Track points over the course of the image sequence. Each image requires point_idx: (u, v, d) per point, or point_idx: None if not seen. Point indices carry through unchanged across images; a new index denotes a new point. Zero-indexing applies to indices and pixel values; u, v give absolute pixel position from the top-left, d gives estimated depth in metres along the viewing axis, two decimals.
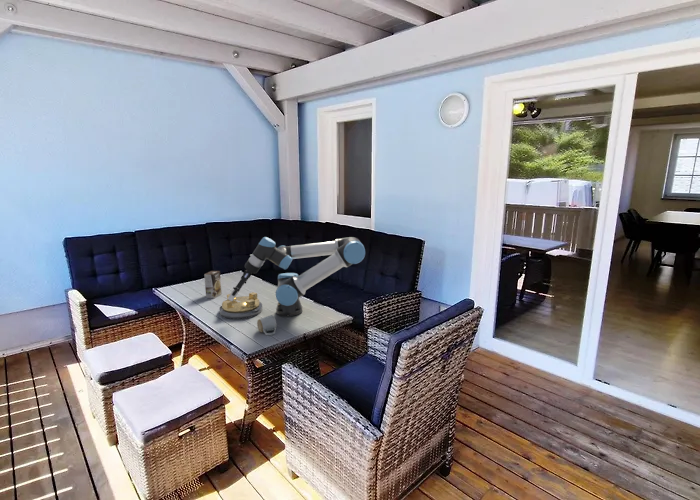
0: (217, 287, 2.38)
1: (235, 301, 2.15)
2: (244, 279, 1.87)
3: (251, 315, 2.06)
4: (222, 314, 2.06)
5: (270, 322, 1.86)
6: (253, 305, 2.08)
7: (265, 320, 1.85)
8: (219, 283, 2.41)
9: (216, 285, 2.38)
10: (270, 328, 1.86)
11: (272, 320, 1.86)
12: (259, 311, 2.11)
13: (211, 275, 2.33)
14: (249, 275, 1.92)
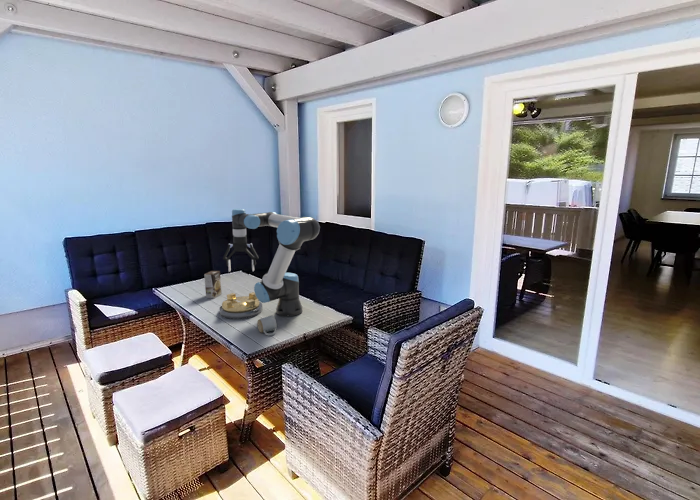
0: (217, 287, 2.38)
1: (235, 301, 2.15)
2: (227, 248, 2.13)
3: (251, 315, 2.06)
4: (222, 314, 2.06)
5: (270, 322, 1.85)
6: (253, 305, 2.08)
7: (265, 321, 1.85)
8: (219, 283, 2.41)
9: (216, 285, 2.38)
10: (270, 328, 1.86)
11: (272, 320, 1.86)
12: (259, 311, 2.11)
13: (211, 275, 2.33)
14: (236, 246, 2.12)
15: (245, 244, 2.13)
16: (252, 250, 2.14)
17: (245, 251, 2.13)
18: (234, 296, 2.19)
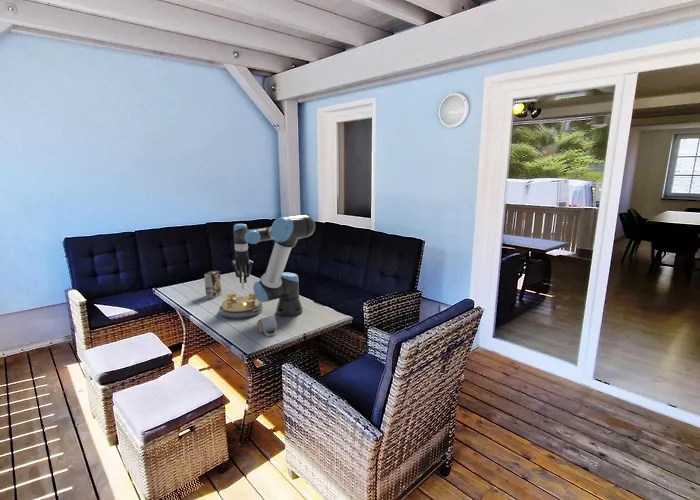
0: (217, 287, 2.38)
1: (235, 301, 2.15)
2: None
3: (251, 315, 2.06)
4: (222, 314, 2.06)
5: (271, 323, 1.85)
6: (253, 305, 2.08)
7: (266, 321, 1.85)
8: (219, 283, 2.41)
9: (216, 285, 2.38)
10: (271, 329, 1.85)
11: (273, 321, 1.86)
12: (259, 311, 2.11)
13: (211, 275, 2.33)
14: None
15: (247, 259, 2.17)
16: (249, 267, 2.18)
17: (243, 266, 2.17)
18: (234, 296, 2.19)
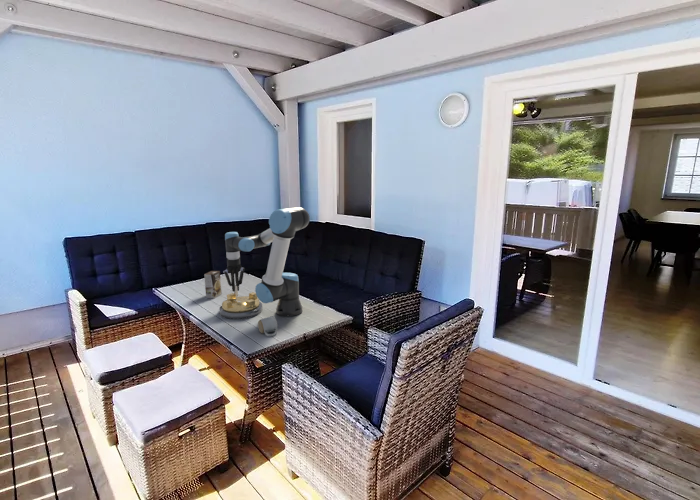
0: (217, 287, 2.38)
1: (235, 301, 2.15)
2: (226, 276, 2.15)
3: (251, 315, 2.06)
4: (222, 314, 2.06)
5: (271, 323, 1.85)
6: (253, 305, 2.08)
7: (266, 321, 1.84)
8: (219, 283, 2.41)
9: (216, 285, 2.38)
10: (271, 329, 1.85)
11: (273, 321, 1.85)
12: (259, 311, 2.11)
13: (211, 275, 2.33)
14: (231, 270, 2.15)
15: (240, 266, 2.18)
16: (242, 274, 2.19)
17: (237, 274, 2.17)
18: (234, 296, 2.19)
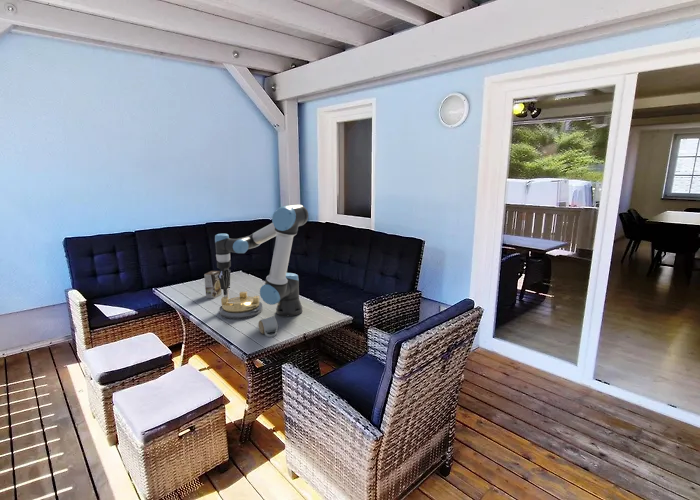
0: (217, 287, 2.38)
1: (234, 303, 2.12)
2: (221, 279, 2.07)
3: (251, 315, 2.06)
4: (222, 314, 2.06)
5: (271, 323, 1.84)
6: (259, 300, 2.16)
7: (266, 322, 1.84)
8: (219, 283, 2.41)
9: (216, 285, 2.38)
10: (271, 329, 1.84)
11: (273, 322, 1.85)
12: (259, 311, 2.11)
13: (211, 275, 2.33)
14: (225, 272, 2.09)
15: (228, 267, 2.14)
16: (229, 275, 2.16)
17: (228, 276, 2.13)
18: (227, 299, 2.14)
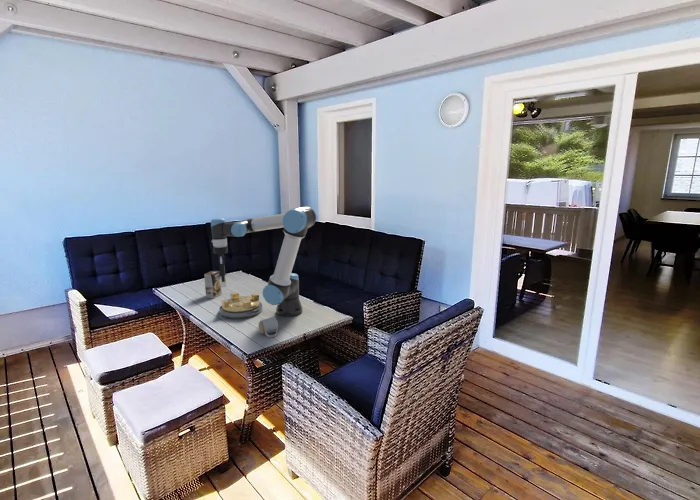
0: (217, 287, 2.38)
1: (235, 304, 2.11)
2: (222, 265, 2.01)
3: (251, 315, 2.06)
4: (222, 314, 2.06)
5: (272, 324, 1.84)
6: None
7: (267, 322, 1.83)
8: (219, 283, 2.41)
9: (216, 285, 2.38)
10: (272, 330, 1.84)
11: (274, 322, 1.84)
12: (259, 311, 2.11)
13: (211, 275, 2.33)
14: (223, 258, 2.04)
15: None
16: None
17: None
18: None
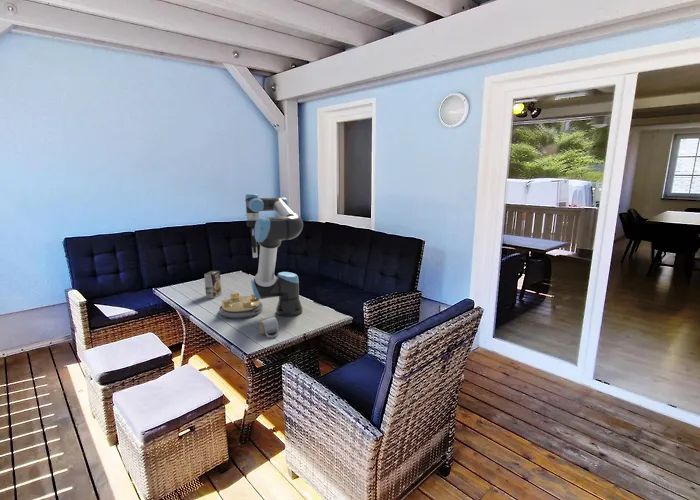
0: (217, 287, 2.38)
1: (235, 304, 2.11)
2: (253, 237, 2.19)
3: (251, 315, 2.06)
4: (222, 314, 2.06)
5: (272, 324, 1.83)
6: None
7: (267, 322, 1.83)
8: (219, 283, 2.41)
9: (216, 285, 2.38)
10: (272, 330, 1.83)
11: (274, 322, 1.84)
12: (259, 311, 2.11)
13: (211, 275, 2.33)
14: None
15: None
16: None
17: None
18: None
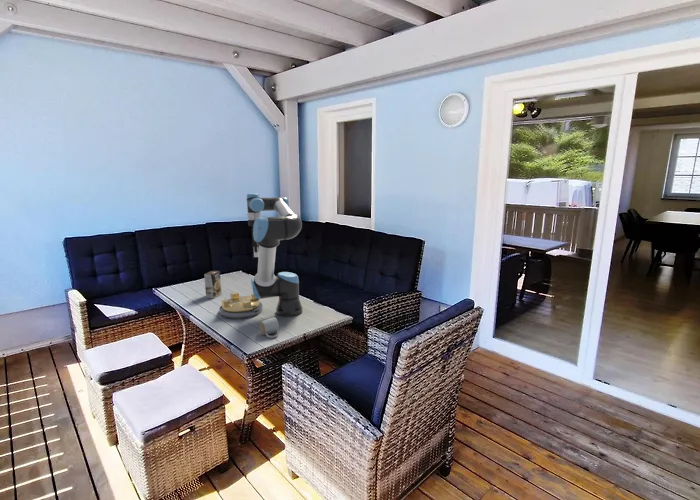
0: (217, 287, 2.38)
1: (235, 304, 2.11)
2: None
3: (251, 315, 2.06)
4: (222, 314, 2.06)
5: (272, 324, 1.83)
6: None
7: (268, 323, 1.82)
8: (219, 283, 2.41)
9: (216, 285, 2.38)
10: (272, 330, 1.83)
11: (275, 323, 1.84)
12: (259, 311, 2.11)
13: (211, 275, 2.33)
14: None
15: None
16: None
17: None
18: None
